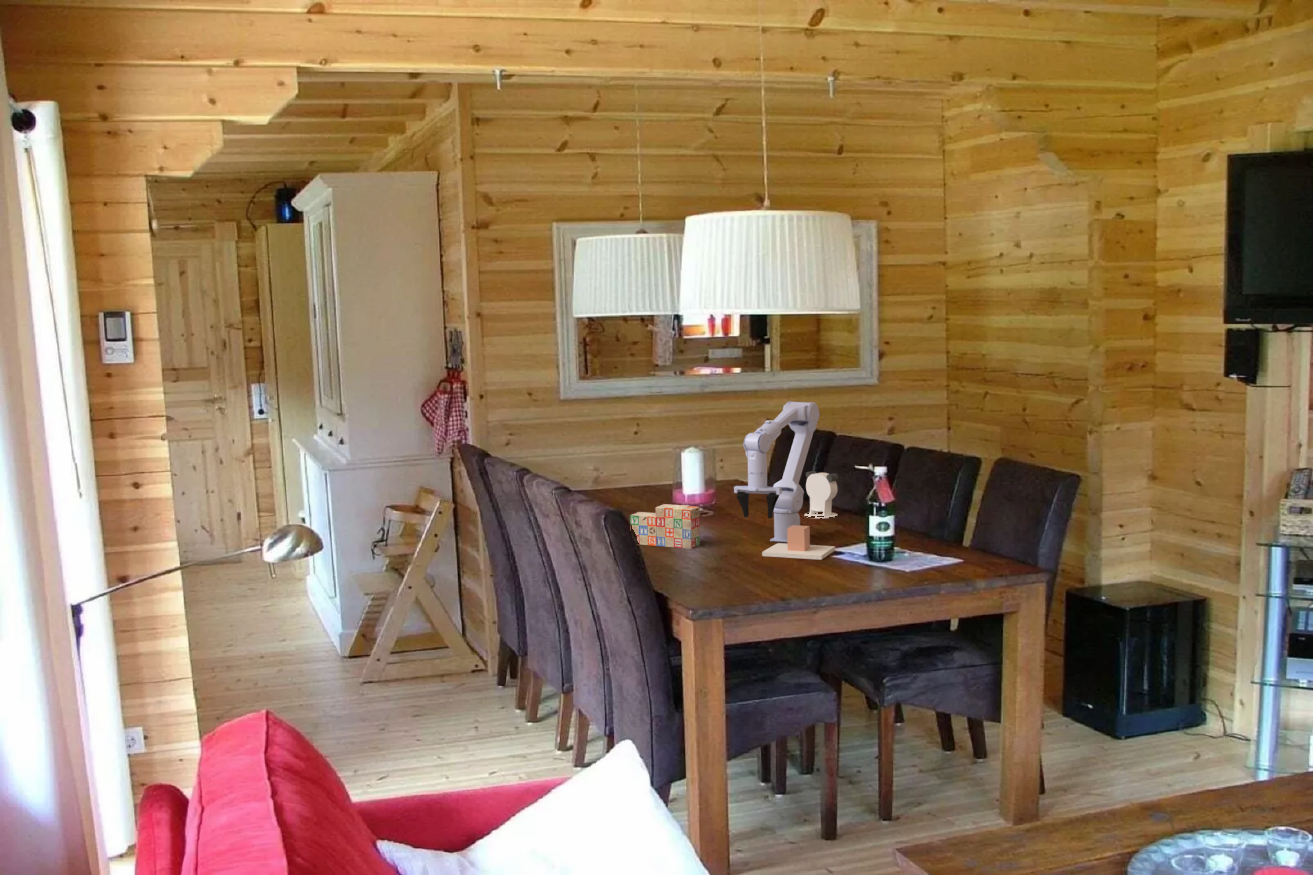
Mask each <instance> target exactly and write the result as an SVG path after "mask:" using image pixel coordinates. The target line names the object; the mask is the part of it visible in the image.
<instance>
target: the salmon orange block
mask: <svg viewBox="0 0 1313 875" xmlns="http://www.w3.org/2000/svg"><path fill="white" fill-rule="evenodd" d="M810 527H811V526H810V525H800V526H798V525H792V526H791V527H789V528H787V542H786V544H787V545H788V550H789V551H806V550H808V549H809V548H810V545H811V536H810V535H811V534H810V533H811V531H810V530H811V529H810Z"/></svg>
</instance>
